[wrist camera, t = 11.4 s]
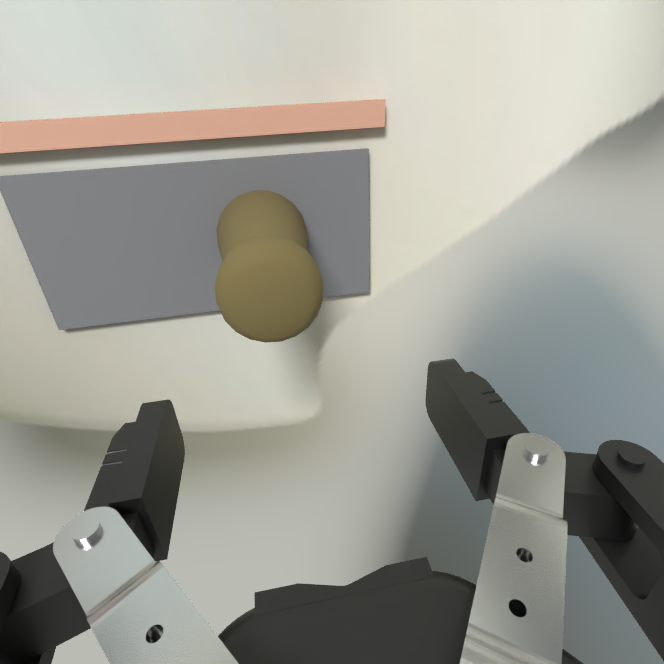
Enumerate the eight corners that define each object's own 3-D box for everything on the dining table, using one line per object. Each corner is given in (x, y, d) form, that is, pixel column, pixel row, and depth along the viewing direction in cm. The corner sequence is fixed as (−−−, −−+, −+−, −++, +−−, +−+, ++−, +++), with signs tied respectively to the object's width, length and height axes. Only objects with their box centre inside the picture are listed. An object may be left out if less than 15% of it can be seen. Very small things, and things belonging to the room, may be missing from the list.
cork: (283, 290, 31) (302, 377, 21) (202, 257, 28) (182, 336, 19) (322, 215, 29) (361, 274, 19) (237, 172, 26) (234, 214, 17)
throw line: (382, 99, 26) (385, 99, 26) (382, 126, 27) (384, 126, 26) (-45, 124, 23) (-51, 125, 22) (-32, 154, 24) (-38, 155, 23)
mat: (367, 148, 27) (368, 149, 27) (368, 289, 32) (369, 292, 32) (-2, 176, 24) (-6, 177, 24) (61, 327, 29) (59, 330, 29)
